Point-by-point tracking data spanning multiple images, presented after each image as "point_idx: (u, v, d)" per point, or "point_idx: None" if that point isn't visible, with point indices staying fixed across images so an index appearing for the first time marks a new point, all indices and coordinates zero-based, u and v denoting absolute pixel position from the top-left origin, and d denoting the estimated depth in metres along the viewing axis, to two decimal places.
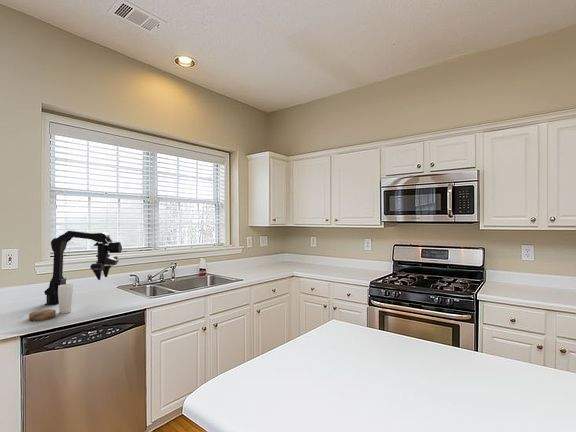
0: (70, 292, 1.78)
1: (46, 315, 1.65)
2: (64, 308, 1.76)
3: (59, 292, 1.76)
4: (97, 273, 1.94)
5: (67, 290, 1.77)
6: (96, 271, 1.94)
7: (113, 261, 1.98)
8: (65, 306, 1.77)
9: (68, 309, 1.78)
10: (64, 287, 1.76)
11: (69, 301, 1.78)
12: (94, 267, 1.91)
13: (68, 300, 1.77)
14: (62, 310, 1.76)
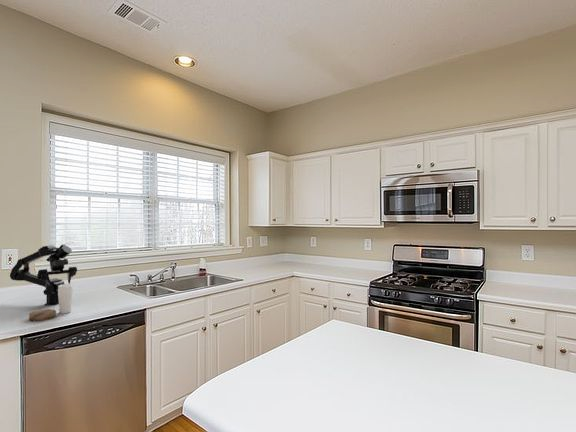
0: (70, 292, 1.78)
1: (46, 315, 1.65)
2: (64, 308, 1.76)
3: (59, 292, 1.76)
4: (46, 280, 1.86)
5: (67, 290, 1.77)
6: (45, 279, 1.86)
7: (54, 262, 1.88)
8: (65, 306, 1.77)
9: (68, 309, 1.78)
10: (64, 287, 1.76)
11: (69, 301, 1.78)
12: (37, 275, 1.85)
13: (68, 300, 1.77)
14: (62, 310, 1.76)
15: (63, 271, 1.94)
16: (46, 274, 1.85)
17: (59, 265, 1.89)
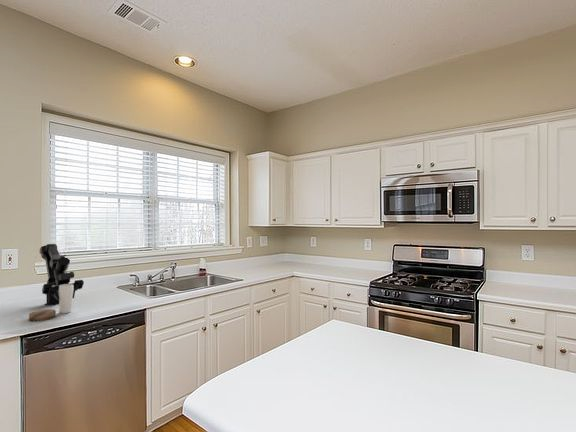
0: (71, 292, 1.78)
1: (46, 315, 1.65)
2: (64, 308, 1.76)
3: (60, 292, 1.76)
4: (54, 294, 1.77)
5: (68, 290, 1.77)
6: (53, 293, 1.77)
7: (60, 275, 1.78)
8: (65, 306, 1.77)
9: (68, 309, 1.78)
10: (65, 287, 1.76)
11: (69, 301, 1.78)
12: (42, 290, 1.75)
13: (68, 300, 1.77)
14: (63, 310, 1.76)
15: None
16: (54, 288, 1.76)
17: (65, 279, 1.80)
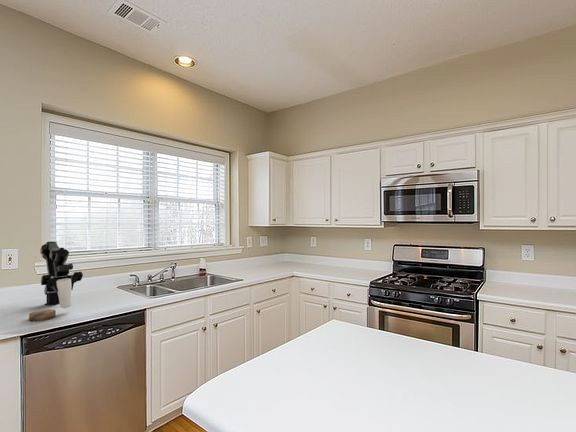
0: (68, 286, 1.77)
1: (46, 315, 1.65)
2: (64, 302, 1.76)
3: (57, 287, 1.75)
4: (53, 286, 1.76)
5: (65, 285, 1.76)
6: (52, 284, 1.77)
7: (58, 267, 1.77)
8: (65, 300, 1.76)
9: (68, 303, 1.77)
10: (62, 282, 1.75)
11: (68, 295, 1.77)
12: (41, 281, 1.75)
13: (67, 295, 1.77)
14: (63, 304, 1.76)
15: (68, 276, 1.83)
16: (52, 280, 1.76)
17: (63, 270, 1.79)
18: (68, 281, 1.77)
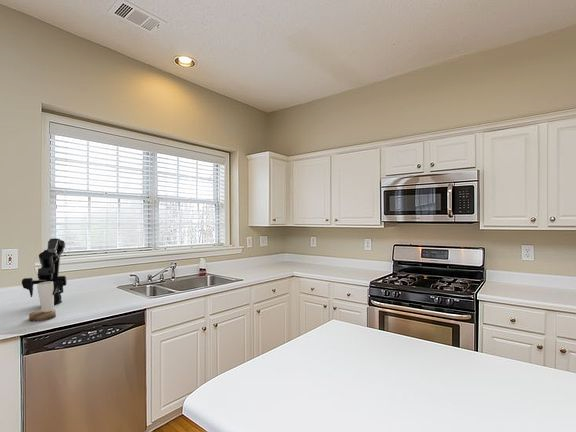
0: (48, 290, 1.68)
1: (46, 315, 1.65)
2: (44, 307, 1.67)
3: (38, 290, 1.67)
4: (29, 290, 1.68)
5: (44, 288, 1.66)
6: None
7: (38, 270, 1.69)
8: (44, 305, 1.67)
9: (48, 308, 1.68)
10: (41, 285, 1.66)
11: (48, 300, 1.68)
12: (22, 284, 1.69)
13: (47, 299, 1.67)
14: (43, 309, 1.67)
15: (51, 280, 1.74)
16: (29, 283, 1.67)
17: (43, 274, 1.70)
18: (48, 285, 1.67)
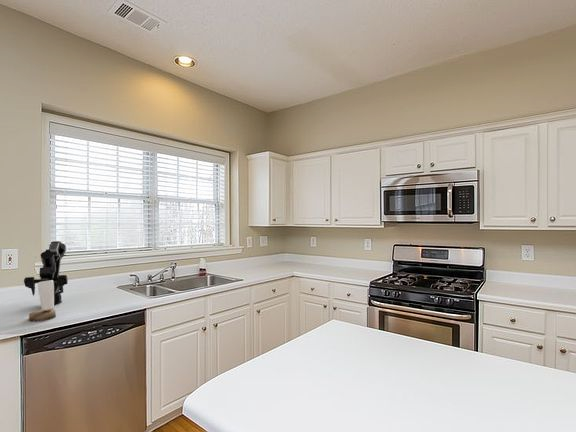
0: (49, 287, 1.71)
1: (46, 315, 1.65)
2: (44, 304, 1.68)
3: (38, 288, 1.70)
4: None
5: (45, 285, 1.70)
6: None
7: None
8: (45, 302, 1.68)
9: (49, 305, 1.69)
10: (41, 282, 1.70)
11: (49, 297, 1.70)
12: None
13: (47, 296, 1.69)
14: (43, 307, 1.68)
15: (52, 279, 1.78)
16: (31, 282, 1.71)
17: (45, 273, 1.74)
18: (48, 282, 1.71)
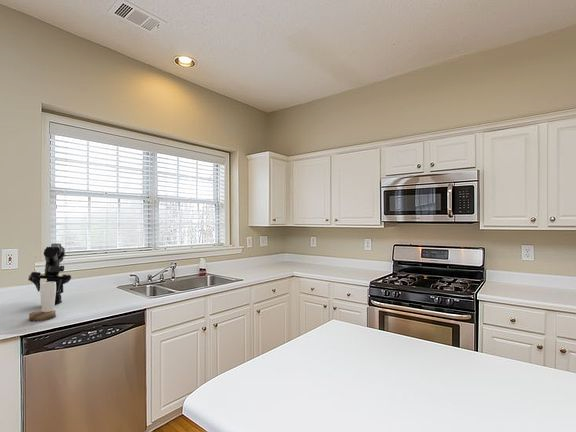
0: (51, 290, 1.69)
1: (46, 315, 1.65)
2: (45, 307, 1.68)
3: (40, 290, 1.68)
4: (36, 284, 1.76)
5: (47, 288, 1.68)
6: (36, 282, 1.77)
7: (50, 267, 1.78)
8: (45, 304, 1.68)
9: (49, 308, 1.69)
10: (44, 285, 1.67)
11: (50, 300, 1.69)
12: (29, 277, 1.76)
13: (49, 299, 1.68)
14: (43, 309, 1.68)
15: (56, 277, 1.84)
16: (38, 278, 1.76)
17: (54, 271, 1.80)
18: (51, 284, 1.69)
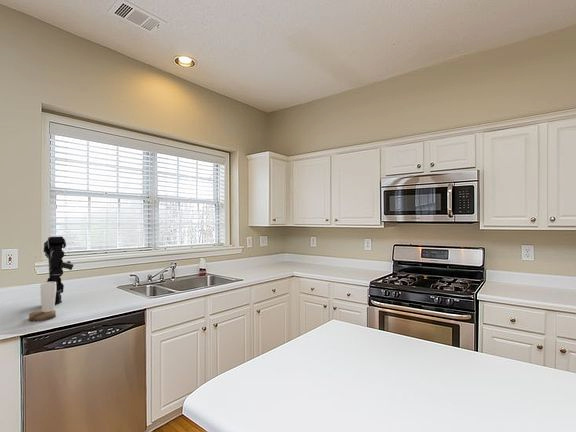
0: (51, 290, 1.69)
1: (46, 315, 1.65)
2: (45, 307, 1.68)
3: (40, 290, 1.68)
4: (55, 279, 1.83)
5: (47, 288, 1.68)
6: (54, 277, 1.83)
7: (71, 266, 1.91)
8: (45, 304, 1.68)
9: (49, 308, 1.69)
10: (44, 285, 1.67)
11: (50, 300, 1.69)
12: (55, 273, 1.80)
13: (49, 299, 1.68)
14: (43, 309, 1.68)
15: None
16: None
17: None
18: (51, 285, 1.69)
